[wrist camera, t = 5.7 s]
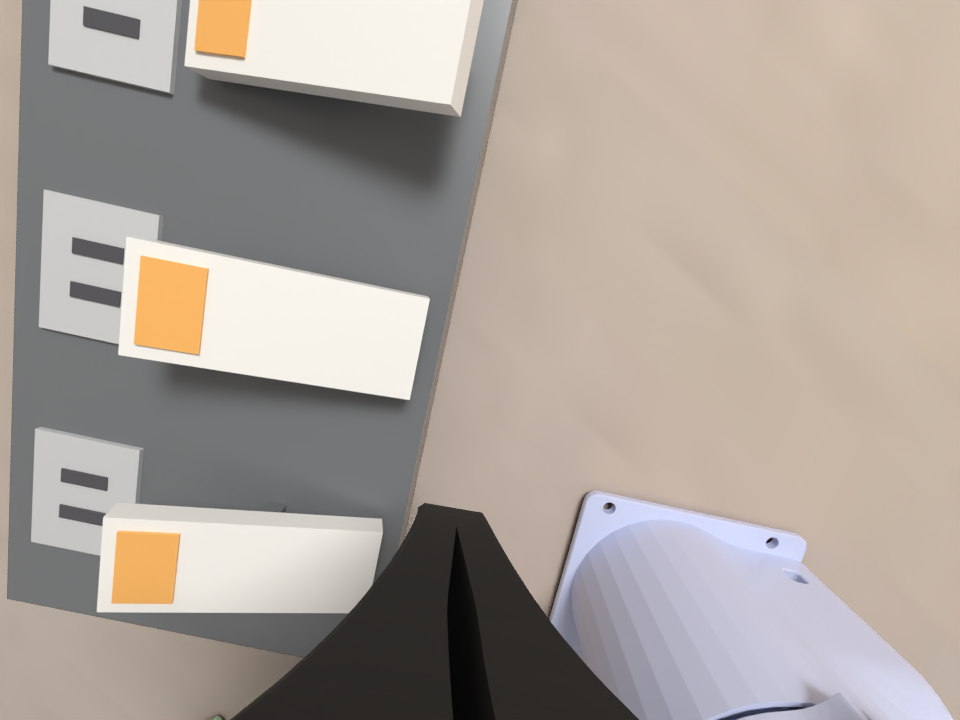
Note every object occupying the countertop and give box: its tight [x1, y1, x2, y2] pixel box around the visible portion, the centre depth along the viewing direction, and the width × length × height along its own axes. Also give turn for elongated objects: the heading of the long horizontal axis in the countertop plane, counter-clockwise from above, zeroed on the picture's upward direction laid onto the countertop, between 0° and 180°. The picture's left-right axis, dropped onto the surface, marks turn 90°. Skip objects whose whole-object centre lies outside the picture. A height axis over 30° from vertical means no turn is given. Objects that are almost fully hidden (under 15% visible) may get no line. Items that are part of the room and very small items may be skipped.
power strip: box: [7, 0, 518, 658], centre depth 16 cm, size 14×26×4 cm, turn 167°
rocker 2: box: [97, 503, 383, 613], centre depth 15 cm, size 8×3×1 cm, turn 77°
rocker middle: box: [118, 237, 430, 400], centre depth 14 cm, size 8×3×1 cm, turn 78°
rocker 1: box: [184, 0, 484, 117], centre depth 12 cm, size 8×3×1 cm, turn 77°
